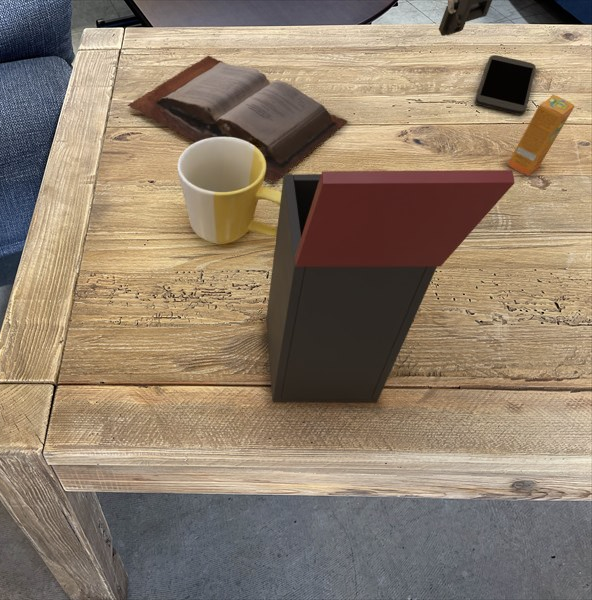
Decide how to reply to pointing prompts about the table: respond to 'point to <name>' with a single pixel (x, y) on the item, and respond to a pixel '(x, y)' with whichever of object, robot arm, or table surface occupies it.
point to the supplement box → (540, 134)
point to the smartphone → (506, 84)
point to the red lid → (396, 216)
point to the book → (241, 111)
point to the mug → (224, 188)
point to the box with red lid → (333, 315)
